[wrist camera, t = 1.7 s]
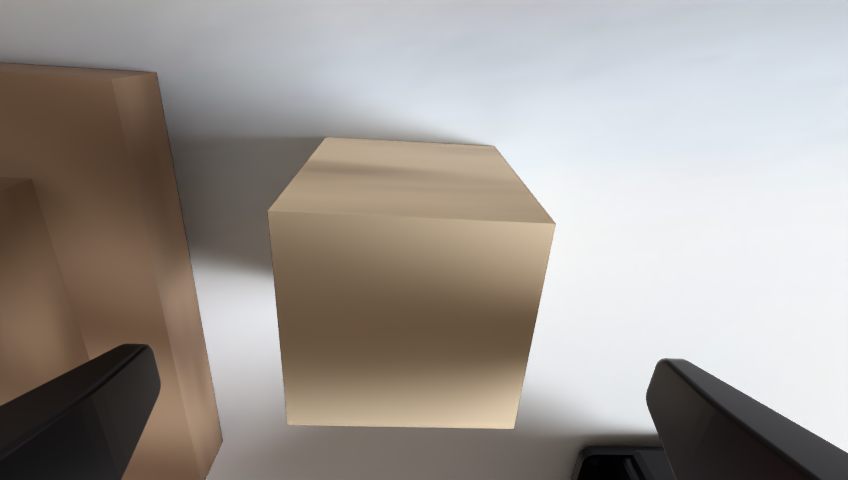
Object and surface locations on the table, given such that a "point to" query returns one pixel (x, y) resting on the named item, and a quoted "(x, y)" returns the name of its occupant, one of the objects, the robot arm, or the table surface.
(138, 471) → the tower base
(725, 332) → the table surface
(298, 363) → the maple block
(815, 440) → the robot arm
